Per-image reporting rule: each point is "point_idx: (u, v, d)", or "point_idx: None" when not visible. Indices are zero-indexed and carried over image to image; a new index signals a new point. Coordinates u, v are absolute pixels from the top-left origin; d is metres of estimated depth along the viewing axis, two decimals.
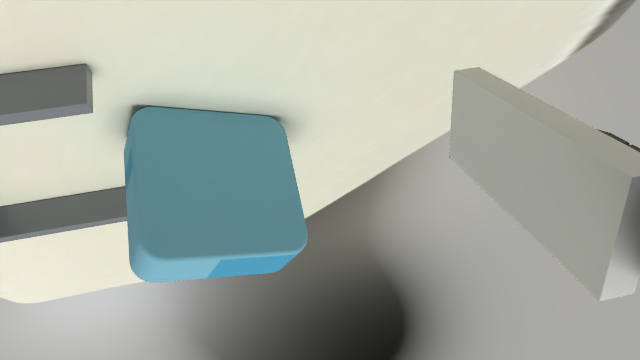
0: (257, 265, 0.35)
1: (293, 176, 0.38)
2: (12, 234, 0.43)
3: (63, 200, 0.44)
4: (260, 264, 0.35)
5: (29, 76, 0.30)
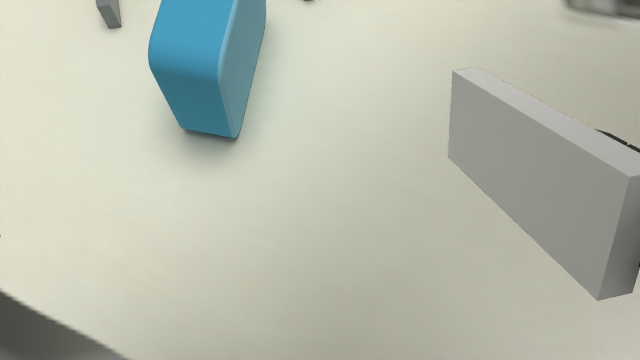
0: (196, 12, 0.29)
1: (231, 112, 0.34)
2: None
3: None
4: (199, 15, 0.29)
5: None
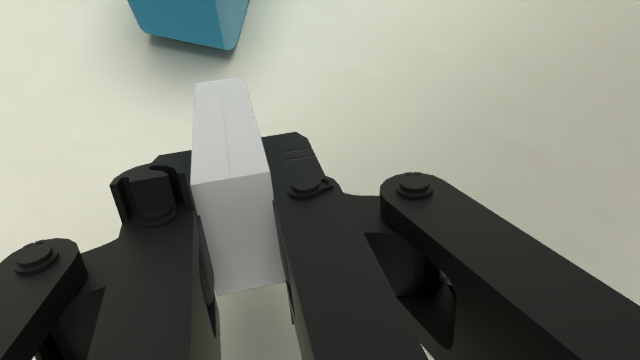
0: None
1: None
2: None
3: None
4: None
5: None
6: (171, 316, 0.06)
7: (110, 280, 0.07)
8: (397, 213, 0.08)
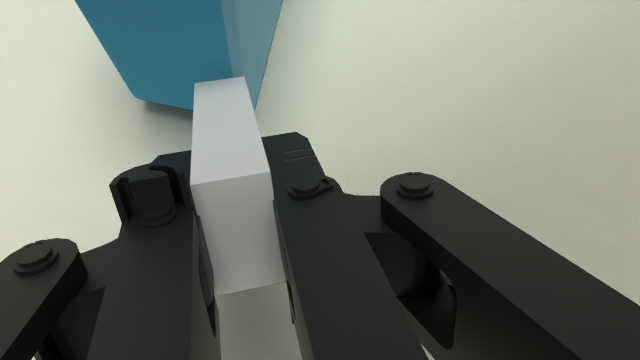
0: None
1: (241, 55, 0.14)
2: None
3: None
4: None
5: None
6: (170, 315, 0.06)
7: (110, 280, 0.07)
8: (397, 213, 0.08)
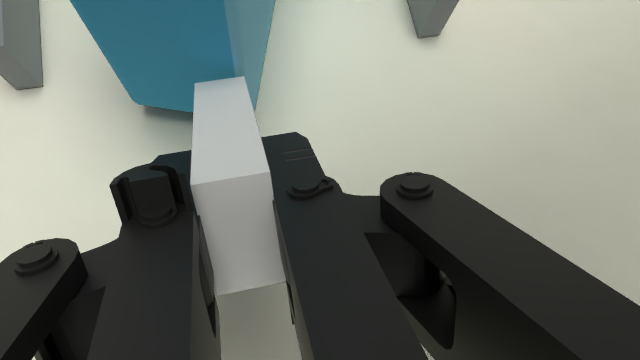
0: None
1: (243, 54, 0.14)
2: None
3: None
4: None
5: None
6: (170, 316, 0.06)
7: (110, 280, 0.07)
8: (397, 213, 0.08)
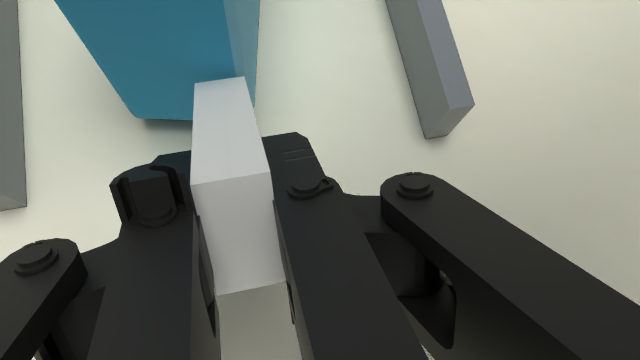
0: None
1: (243, 55, 0.14)
2: None
3: (13, 18, 0.20)
4: None
5: None
6: (170, 315, 0.06)
7: (110, 280, 0.07)
8: (397, 213, 0.08)
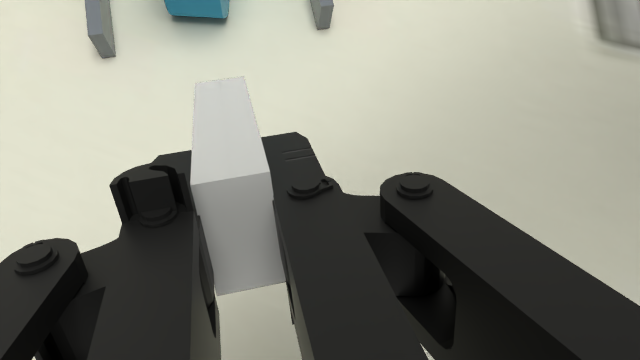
0: None
1: None
2: None
3: None
4: None
5: None
6: (170, 316, 0.06)
7: (110, 280, 0.07)
8: (397, 213, 0.08)
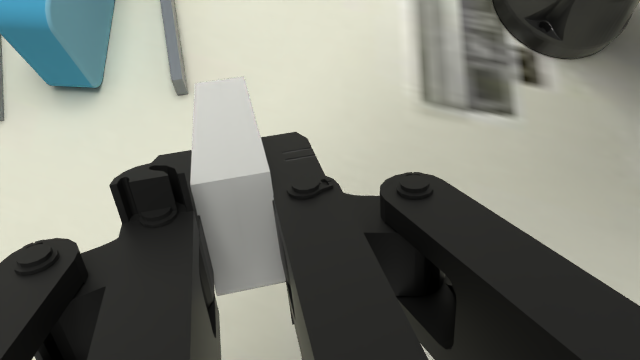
0: None
1: (78, 60, 0.42)
2: None
3: None
4: None
5: (182, 62, 0.48)
6: (171, 316, 0.06)
7: (110, 280, 0.07)
8: (397, 213, 0.08)
